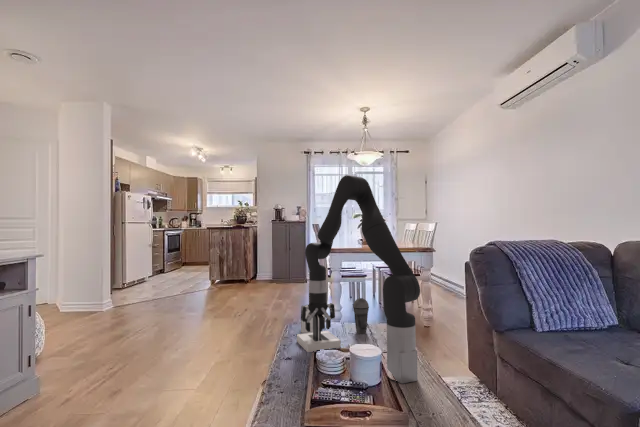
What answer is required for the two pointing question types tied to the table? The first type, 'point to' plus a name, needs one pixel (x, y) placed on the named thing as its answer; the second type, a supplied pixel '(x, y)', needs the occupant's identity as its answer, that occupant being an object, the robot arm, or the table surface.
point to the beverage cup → (361, 314)
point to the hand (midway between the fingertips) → (318, 330)
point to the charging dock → (312, 345)
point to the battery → (318, 327)
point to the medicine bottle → (303, 329)
